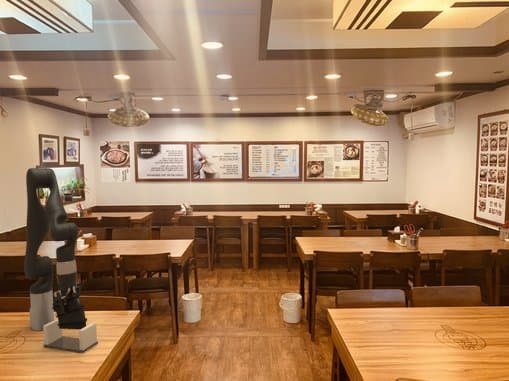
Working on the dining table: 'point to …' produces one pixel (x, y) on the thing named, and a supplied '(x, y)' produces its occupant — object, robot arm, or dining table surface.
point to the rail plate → (68, 344)
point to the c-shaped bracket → (85, 334)
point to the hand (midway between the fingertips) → (69, 311)
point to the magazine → (71, 313)
